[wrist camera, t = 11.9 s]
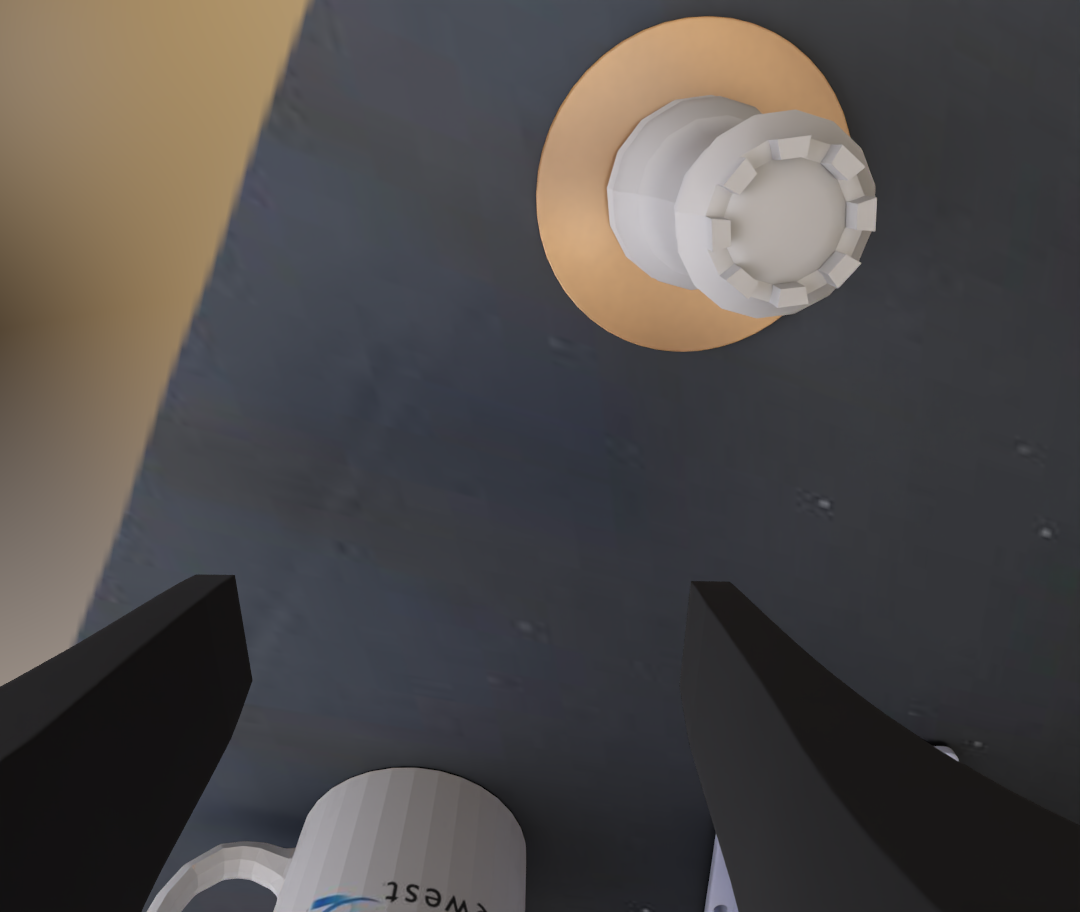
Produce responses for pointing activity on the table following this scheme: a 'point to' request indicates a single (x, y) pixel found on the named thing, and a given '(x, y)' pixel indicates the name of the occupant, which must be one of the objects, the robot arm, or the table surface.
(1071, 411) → the table surface
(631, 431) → the table surface
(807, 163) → the rook chess piece
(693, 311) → the coaster
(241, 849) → the mug
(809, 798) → the robot arm
